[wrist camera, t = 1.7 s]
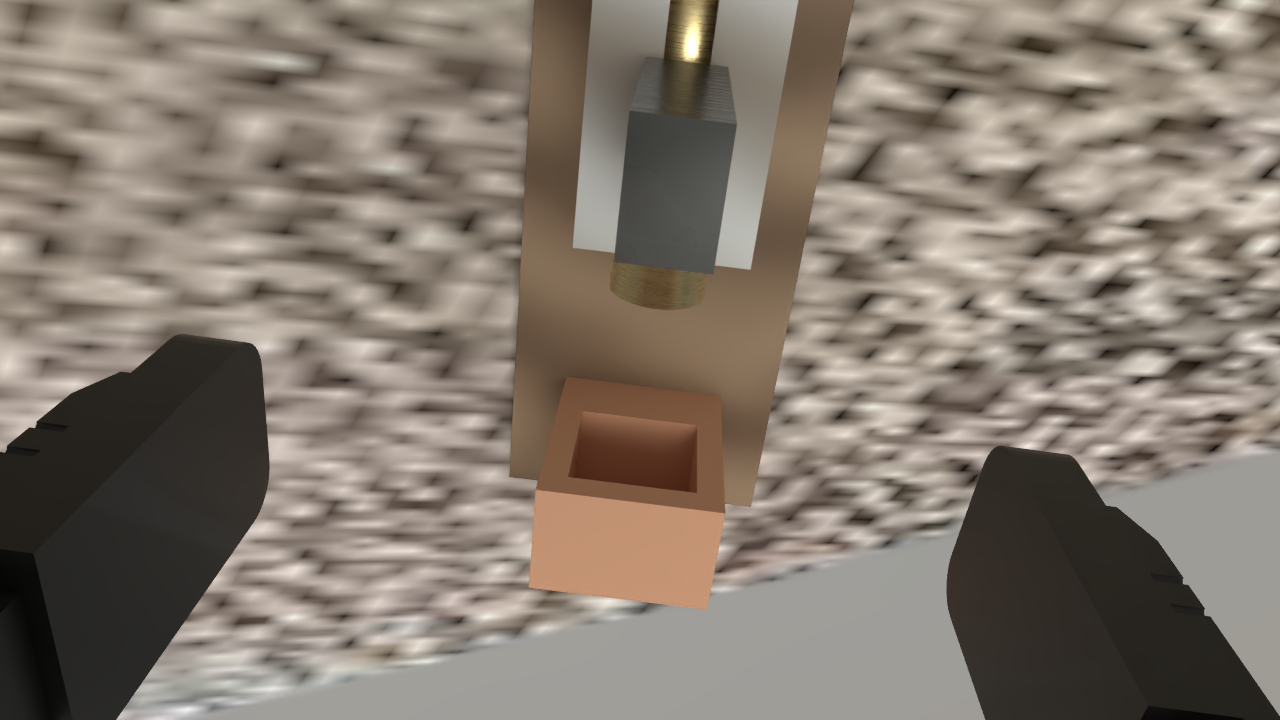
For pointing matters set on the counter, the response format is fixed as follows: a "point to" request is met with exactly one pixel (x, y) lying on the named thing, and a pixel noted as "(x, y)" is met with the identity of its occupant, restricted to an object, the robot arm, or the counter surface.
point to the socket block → (630, 495)
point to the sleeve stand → (590, 198)
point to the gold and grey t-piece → (675, 167)
